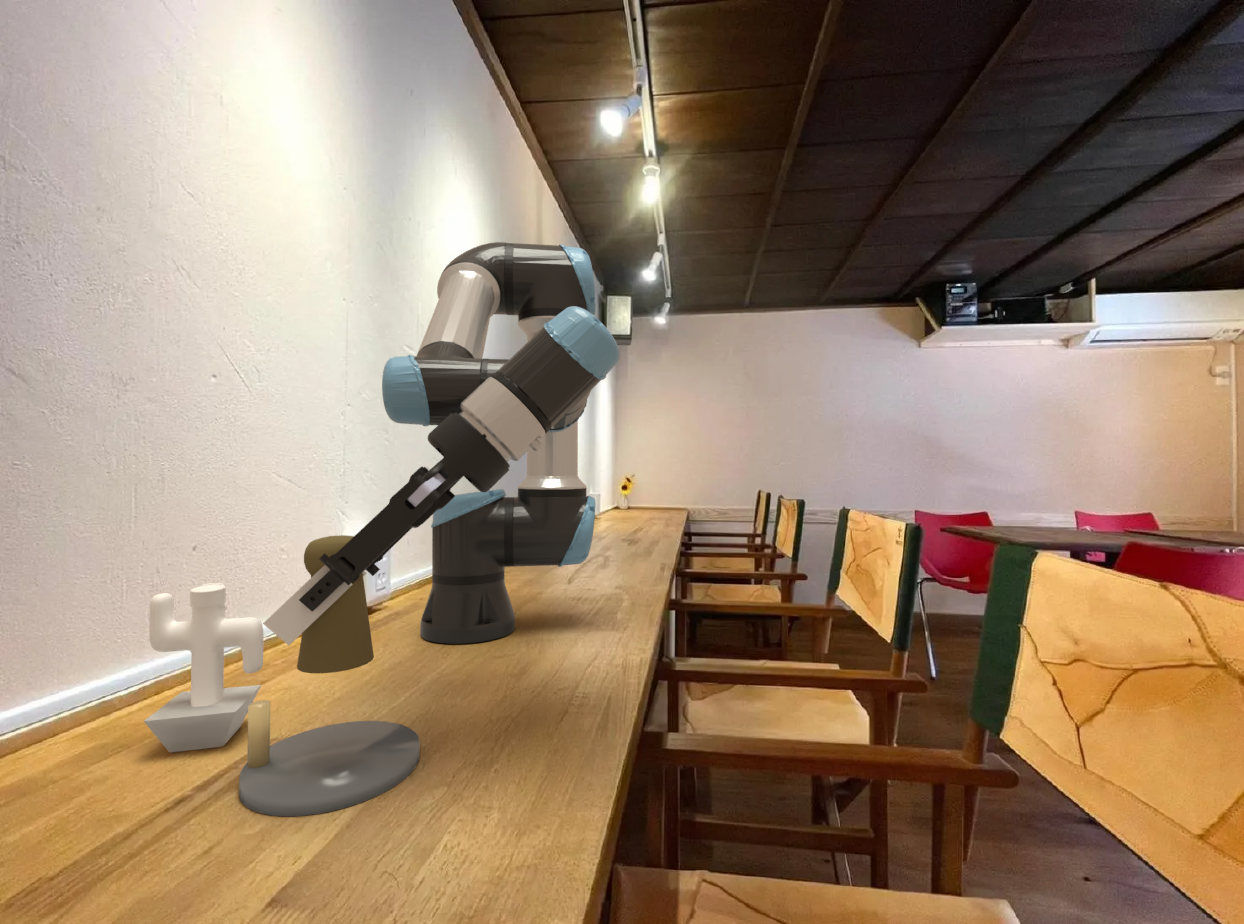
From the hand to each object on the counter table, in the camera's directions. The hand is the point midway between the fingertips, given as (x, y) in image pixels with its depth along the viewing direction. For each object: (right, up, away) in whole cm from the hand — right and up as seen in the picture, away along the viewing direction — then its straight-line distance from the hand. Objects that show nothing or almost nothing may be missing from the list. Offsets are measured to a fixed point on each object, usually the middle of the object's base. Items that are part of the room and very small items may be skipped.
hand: (289, 624), depth 49 cm
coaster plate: (+4, -13, +1) cm, 13 cm away
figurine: (-12, -13, +6) cm, 19 cm away
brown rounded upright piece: (+4, -4, +1) cm, 5 cm away
